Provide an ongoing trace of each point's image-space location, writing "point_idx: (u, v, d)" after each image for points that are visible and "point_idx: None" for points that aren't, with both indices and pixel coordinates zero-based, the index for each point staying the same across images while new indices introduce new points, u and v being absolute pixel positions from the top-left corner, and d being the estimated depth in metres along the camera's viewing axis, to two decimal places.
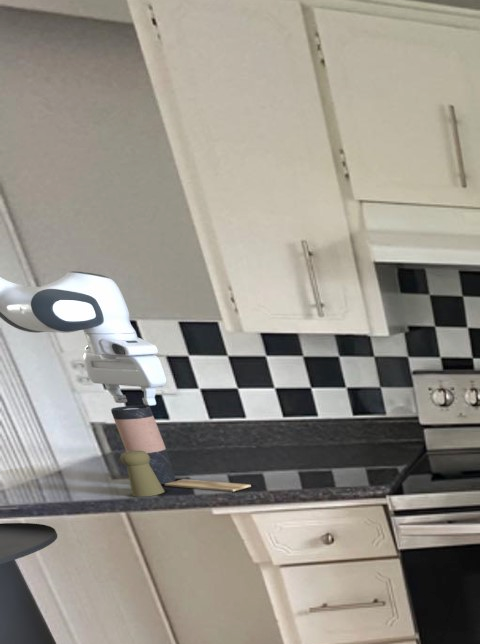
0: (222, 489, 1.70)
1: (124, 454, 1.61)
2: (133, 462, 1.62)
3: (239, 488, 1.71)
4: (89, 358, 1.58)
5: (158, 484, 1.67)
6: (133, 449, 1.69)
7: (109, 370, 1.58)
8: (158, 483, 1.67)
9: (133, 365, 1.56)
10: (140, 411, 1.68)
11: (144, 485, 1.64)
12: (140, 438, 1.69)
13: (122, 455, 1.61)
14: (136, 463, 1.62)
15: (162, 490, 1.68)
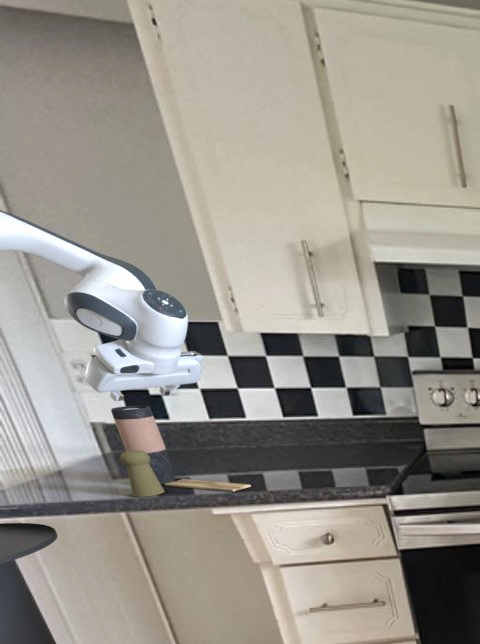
0: (222, 489, 1.70)
1: (124, 454, 1.61)
2: (133, 462, 1.62)
3: (239, 488, 1.71)
4: None
5: (158, 484, 1.67)
6: (133, 449, 1.69)
7: None
8: (158, 483, 1.67)
9: None
10: (140, 411, 1.68)
11: (144, 485, 1.64)
12: (140, 438, 1.69)
13: (122, 455, 1.61)
14: (136, 462, 1.62)
15: (162, 490, 1.68)
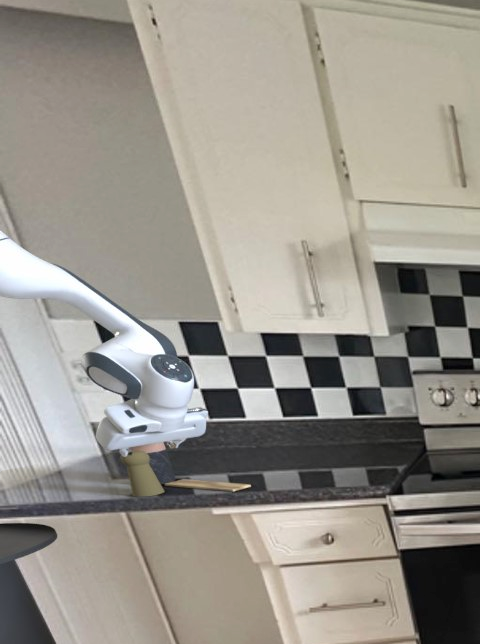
0: (222, 489, 1.70)
1: None
2: (133, 462, 1.62)
3: (239, 488, 1.71)
4: None
5: (158, 484, 1.67)
6: (133, 449, 1.69)
7: None
8: (158, 483, 1.67)
9: None
10: None
11: (144, 485, 1.64)
12: None
13: None
14: (136, 463, 1.62)
15: (162, 490, 1.68)
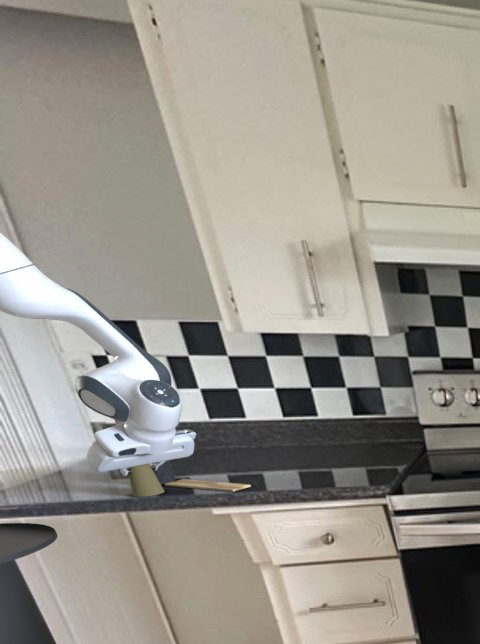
0: (222, 489, 1.70)
1: None
2: None
3: (239, 488, 1.71)
4: None
5: (158, 484, 1.67)
6: None
7: None
8: (158, 483, 1.67)
9: None
10: None
11: (144, 485, 1.64)
12: None
13: None
14: None
15: (162, 490, 1.68)
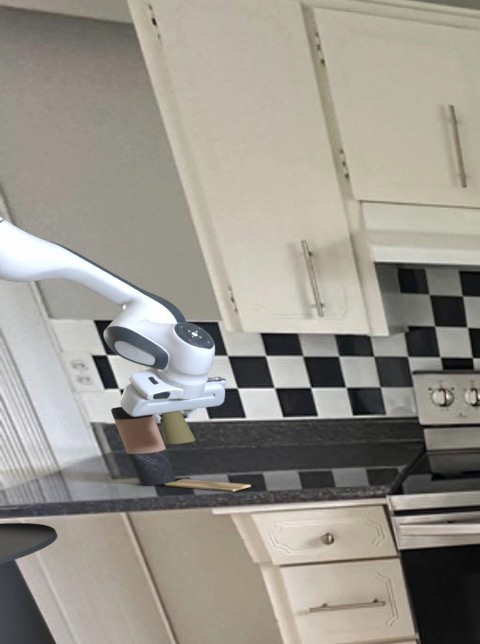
0: (222, 489, 1.70)
1: None
2: None
3: (239, 488, 1.71)
4: None
5: (190, 432, 1.67)
6: (133, 449, 1.69)
7: None
8: (189, 431, 1.67)
9: None
10: None
11: (176, 432, 1.65)
12: (140, 438, 1.69)
13: None
14: None
15: (193, 438, 1.68)
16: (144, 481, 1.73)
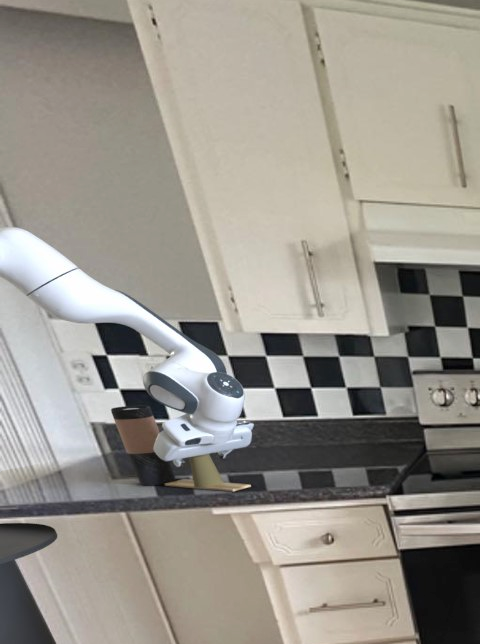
0: (222, 489, 1.70)
1: None
2: None
3: (239, 488, 1.71)
4: None
5: (218, 475, 1.73)
6: (133, 449, 1.69)
7: None
8: (218, 474, 1.74)
9: None
10: (140, 411, 1.68)
11: (205, 475, 1.71)
12: (140, 438, 1.69)
13: None
14: None
15: (221, 481, 1.74)
16: (144, 481, 1.73)
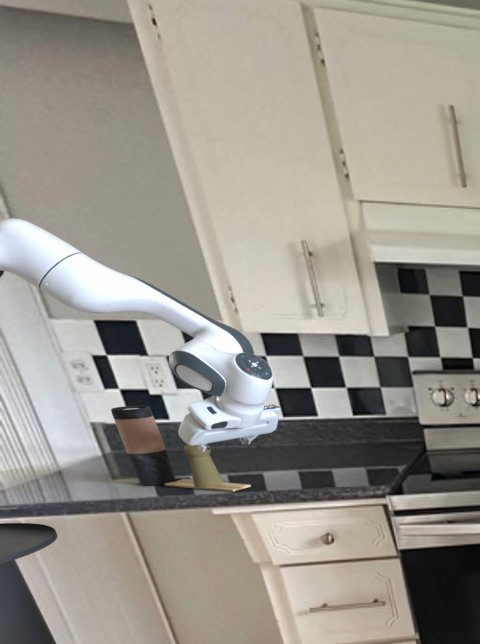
0: (222, 489, 1.70)
1: (187, 446, 1.68)
2: (196, 454, 1.68)
3: (239, 488, 1.71)
4: None
5: (218, 475, 1.74)
6: (133, 449, 1.69)
7: None
8: (218, 474, 1.74)
9: None
10: (140, 411, 1.68)
11: (205, 475, 1.71)
12: (140, 438, 1.69)
13: (185, 447, 1.68)
14: (198, 454, 1.69)
15: (221, 481, 1.74)
16: (144, 481, 1.73)
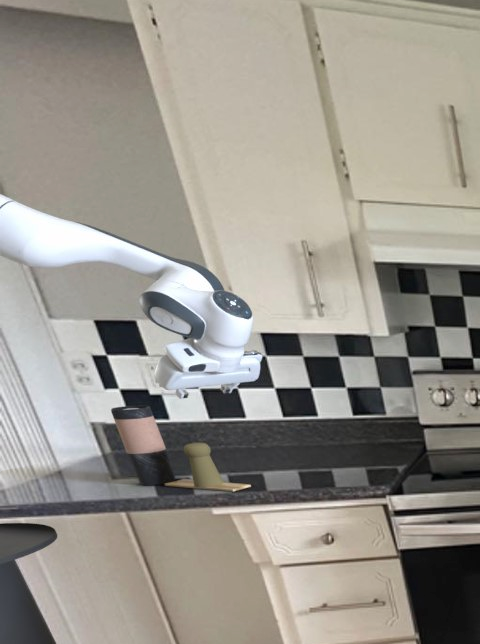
0: (222, 489, 1.70)
1: (187, 446, 1.68)
2: (196, 454, 1.68)
3: (239, 488, 1.71)
4: None
5: (218, 475, 1.74)
6: (133, 449, 1.69)
7: None
8: (218, 474, 1.74)
9: None
10: (140, 411, 1.68)
11: (205, 475, 1.71)
12: (140, 438, 1.69)
13: (185, 447, 1.68)
14: (198, 454, 1.69)
15: (221, 481, 1.74)
16: (144, 481, 1.73)
